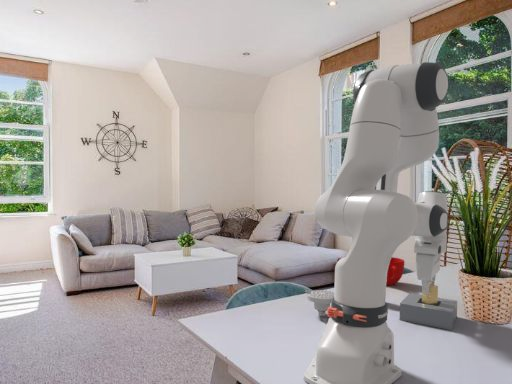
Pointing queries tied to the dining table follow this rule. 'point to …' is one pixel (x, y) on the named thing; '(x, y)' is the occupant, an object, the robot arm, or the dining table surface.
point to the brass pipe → (431, 296)
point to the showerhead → (320, 300)
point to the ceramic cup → (395, 271)
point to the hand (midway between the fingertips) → (428, 290)
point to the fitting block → (429, 312)
